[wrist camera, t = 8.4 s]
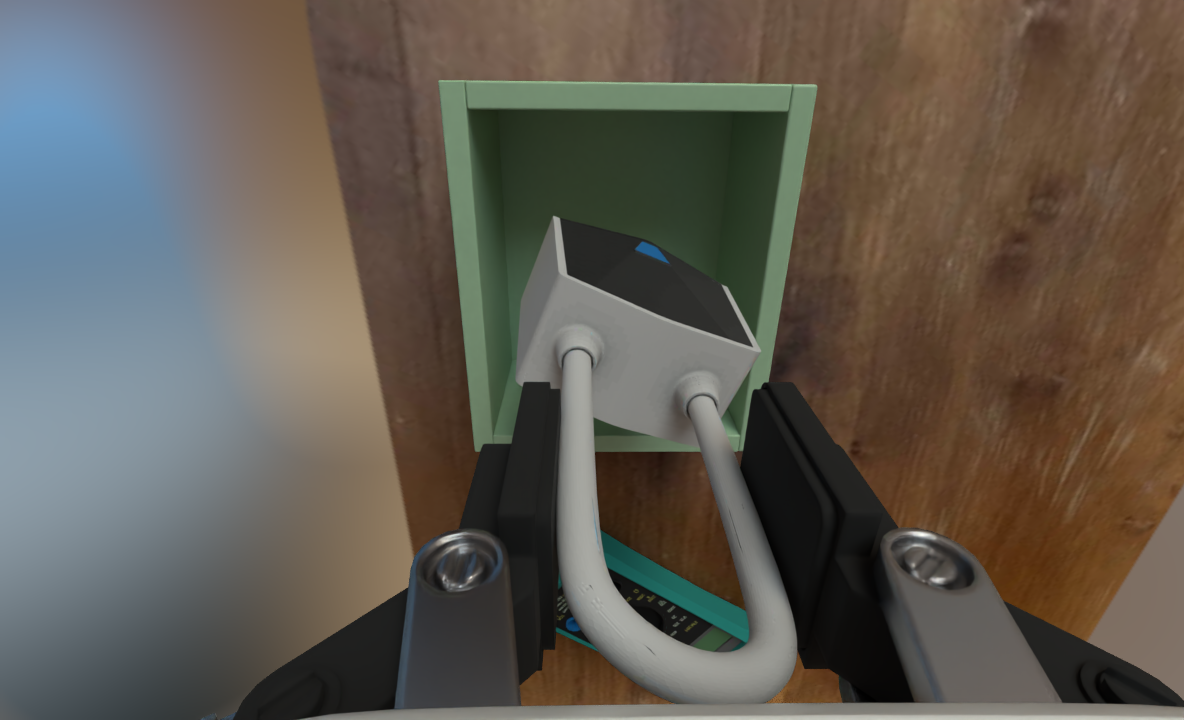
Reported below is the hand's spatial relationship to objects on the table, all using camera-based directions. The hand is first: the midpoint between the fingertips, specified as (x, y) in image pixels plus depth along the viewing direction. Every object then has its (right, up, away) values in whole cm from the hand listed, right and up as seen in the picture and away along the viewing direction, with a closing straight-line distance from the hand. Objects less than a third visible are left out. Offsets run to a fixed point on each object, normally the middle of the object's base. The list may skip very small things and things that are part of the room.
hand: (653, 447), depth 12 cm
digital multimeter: (+2, -14, +26) cm, 30 cm away
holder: (0, +8, +15) cm, 17 cm away
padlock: (0, +4, +9) cm, 10 cm away
